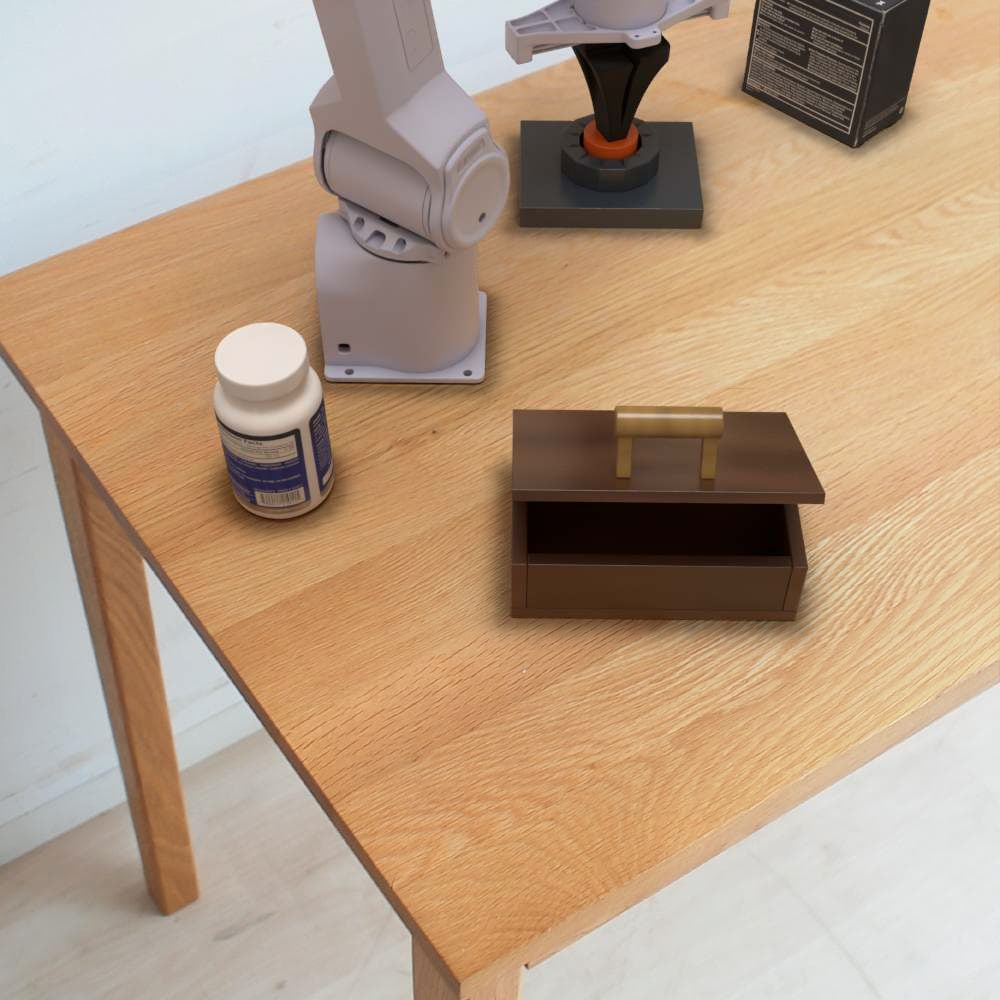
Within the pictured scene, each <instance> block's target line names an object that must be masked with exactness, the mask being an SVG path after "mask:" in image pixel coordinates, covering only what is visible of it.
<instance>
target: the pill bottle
mask: <svg viewBox="0 0 1000 1000" xmlns="http://www.w3.org/2000/svg"><path fill="white" fill-rule="evenodd" d="M214 365H215V366H214V367H215V371H216V375H217V379H218V380H217V382H216V384H215V387H214V389H213V395H212V403H213V409H214V414H215V420H216V424H217V428H218V433H219V437H220V442H221V446H222V451H223V456H224V460H225V464H226V469H227V473H228V478H229V482H230V487H231V490H232V493H233V495H234V497H235V499H236V500H237V502H238V503H239V504H240V505H241V507H243V508H244V509H245V510H247V511H248V512H250V513H251V514H254V515H257V516H259V517H263V518H266V519H275V520H281V519H282V520H283V519H290V518H294V517H298V516H302V515H304V514H306V513H308V512H310V511H312V510H314V509H315V508H317V507H318V506H319V505H320V504H321V503H323V502H324V500H325V499H327V497H328V495H329V493H330V492H331V490H332V489H333V485H334V481H335V466H334V465H335V464H334V458H333V452H332V445H331V438H330V433H329V432H330V431H329V426H328V417H327V413H326V412H327V411H326V405H325V398H324V392H323V386H322V382H321V379H320V377H319V375H318V374H317V372H316V371H315V369H313V367H312V366H310V365H311V364H310V357H309V353H308V347H307V344H306V342H305V339H304V338H303V337H302V335H301V334H300V333H299V332H298V331H297V330H295V329H294V328H292V327H290V326H288V325H285V324H282V323H276V322H255V323H251V324H247V325H244V326H241V327H239V328H237V329H235V330H233V331H231V332H230V333H229V334H227V335H226V336H225V337H223V339H222V340H221V341H220V342H219V344H218V346H217V347H216V349H215V353H214Z"/></svg>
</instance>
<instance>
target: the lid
mask: <svg viewBox="0 0 1000 1000" xmlns="http://www.w3.org/2000/svg"><path fill="white" fill-rule="evenodd" d="M511 452H512V453H511V459H512V460H511V502H512V501H571V502H662V503H753V504H798V505H825V503H826V495H827V494H826V491H825V489H824V487H823V485H822V483H821V480H820V479H819V477H818V475H817V473H816V471H815V469H814V466H813V464H812V463H811V460H810V458H809V456H808V454H807V452H806V450H805V448H804V446H803V444H802V442H801V440H800V438H799V436H798V434H797V432H796V430H795V428H794V425H793V423H792V421H791V419H790V418H789V416H788V413H787V412H786V411H726V410H725V411H724V409H723V407H722V406H697V405H696V406H695V405H694V406H691V405H690V406H686V405H684V406H683V405H615V406H614V410H611V409H527V408H525V409H522V408H521V409H519V408H517V409H516V408H514V409H512V451H511Z"/></svg>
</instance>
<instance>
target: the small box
mask: <svg viewBox="0 0 1000 1000" xmlns="http://www.w3.org/2000/svg"><path fill="white" fill-rule="evenodd" d="M931 1H932V0H755V3H754V8H753V14H752V21H751V28H750V35H749V41H748V49H747V55H746V63H745V67H744V75H743V81H742V84H741V91H742V92H743V93H745V94H747V95H749V96H751V97H753V98H754V99H756V100H758V101H761V102H762V103H764V104H766V105H768V106H770V107H772V108H774V109H776V110H778V111H780V112H782V113H784V114H786V115H788V116H790V117H792V118H794V119H796V120H797V121H800V122H802V123H804V124H806V125H808V126H809V127H812V128H814V129H815V130H818V131H820V132H822V133H824V134H826V135H828V136H830V137H832V138H833V139H835V140H837V141H839V142H841V143H842V144H845V145H847V146H849V147H851V148H857V147H858V146H860V145H862V144H863V143H865V141H867V140H869V139H870V138H872V137H873V136H874V135H876V134H877V133H879V132H881V131H882V130H884V129H885V128H886V127H888V126H890V125H892V124H894V123H895V122H896V121H897V120H899V119H900V118H902V117H903V116H904V114H905V108H906V104H907V100H908V96H909V91H910V87H911V83H912V79H913V75H914V71H915V67H916V64H917V58H918V54H919V50H920V46H921V42H922V38H923V35H924V31H925V26H926V22H927V18H928V15H929V10H930V6H931Z"/></svg>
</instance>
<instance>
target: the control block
mask: <svg viewBox="0 0 1000 1000" xmlns="http://www.w3.org/2000/svg"><path fill="white" fill-rule="evenodd" d="M594 120H595V115H594V113H591V114H588V115H585V116H581V117H578V118H576V119H574V120H543V119H542V120H541V119H538V120H537V119H536V120H535V119H534V120H532V119H531V120H529V119H528V120H527V119H526V120H525V119H521V120H520V122H519V125H520V127H519V136H520V137H519V224H518V225H519V228H527V229H528V228H533V229H535V228H537V229H538V228H539V229H541V228H542V229H543V228H545V229H546V228H547V229H635V230H637V229H640V230H642V229H644V230H645V229H647V230H649V229H650V230H702V226H703V219H704V211H705V208H704V201H703V200H704V199H703V193H702V185H701V178H700V177H701V176H700V170H699V169H700V168H699V163H698V154H697V146H696V139H695V132H694V131H695V130H694V123H693V121H657V120H656V121H653V120H651V121H648V120H647V121H645V120H644V119H641V118H638V117H635V116H634V119H633V121H632V124H633V125H634V126H635V127H636V128H637V130H638V144H637V152H636V153H635V154H634V155H632V156H629V157H626V158H623V159H602V158H599V157H596V156H593V155H590V154H588V153H587V152H586V151H585V150H584V149H583V141H584V129H585V127H586V126H587V125H588V124H589V123H590V122H592V121H594Z"/></svg>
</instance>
